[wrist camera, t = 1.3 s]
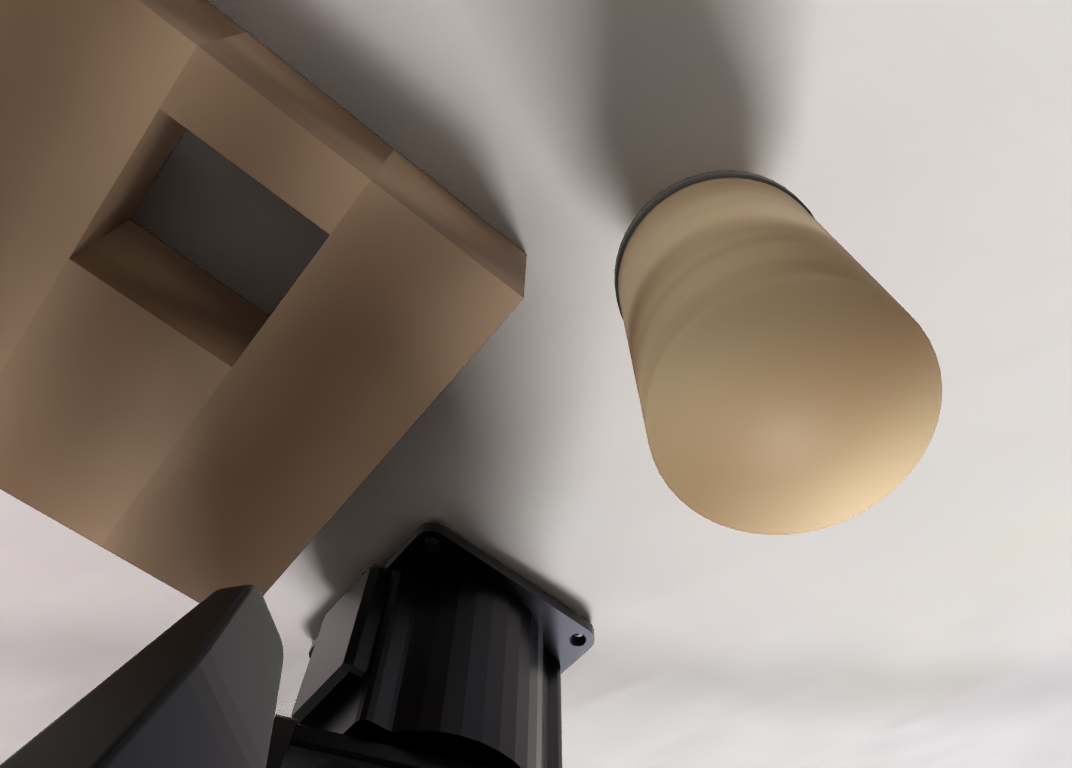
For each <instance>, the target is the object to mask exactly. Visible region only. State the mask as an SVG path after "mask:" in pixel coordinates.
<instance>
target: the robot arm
mask: <svg viewBox="0 0 1072 768" xmlns="http://www.w3.org/2000/svg"><path fill="white" fill-rule="evenodd" d="M427 538H434V539H437V540H438V541H439V542H438V543H437V544H431V543H428V542H427V541H426V539H427ZM574 634H582V635H583V636H581V637H574V636H572V635H574ZM593 644H594V629H593V626H592V624H591V623H590V622H589V621H587V620H586V619H584V618H583V617H581V616H580V615H578V614H577V613H575V612H574V611H572V610H571V609H569V608H568V607H566V606H564V605H563V604H561V603H560V602H558V601H557V600H555V599H554V598H552V597H551V596H549V595H548V594H546V593H545V592H543V591H542V590H540V589H539V588H537V587H536V586H534V585H533V584H531V583H530V582H528V581H527V580H525V579H523V578H522V577H520V576H519V575H517V574H516V573H514V572H513V571H511V570H510V569H508V568H507V567H505V566H504V565H502V564H501V563H499V562H498V561H496V560H495V559H493V558H492V557H490V556H489V555H487V554H486V553H484V552H482V551H481V550H479V549H478V548H476V547H475V546H473V545H472V544H470V543H469V542H467V541H466V540H464V539H463V538H461V537H460V536H458V535H457V534H455V533H454V532H452V531H451V530H449V529H448V528H446V527H445V526H443V525H440V524H438V523H431V522H430V523H426V524H423V525H422V526H421V527H419V528H418V529H417V530H416V531H415V532H414V534H413V535H412V536H411V537H410V538H409V539H408V540H407V541H406V542H405V543H404V544H403V545H402V546H401V547H400V548H399V550H398V551H397V552H396V553H395V554H394V555H393V556H392V557H391V558H390V559H389V560H388V561H387V562H386V563H385V564H384V566H382V565H380V564H378V565H375V566H371V567H369V568H368V569H367V570H366V571H365V572H364V574H363V575H362V576H361V577H360V578H359V579H358V580H357V581H356V582H355V583H354V584H353V585H352V586H351V587H350V589H349V590H348V591H347V592H346V593H345V594H344V595H343V596H342V597H341V598H340V599H339V600H338V601H337V603H336V604H335V605H334V606H333V607H332V608H331V609H330V610H329V611H328V612H327V613H326V615H325V617H324V619H323V622H322V625H321V628H320V631H319V634H318V636H317V637H316V638H315V639H314V641H313V643H312V646H311V649H310V651H309V658H310V661H309V664H308V667H307V670H306V673H305V676H304V679H303V682H302V685H301V688H300V691H299V694H298V697H297V699H296V702H295V705H294V708H293V711H292V714H291V716H292V718H290V717H285V716H281V715H277V714H276V715H275V709H276V703H277V696H278V690H279V684H280V677H281V671H282V665H283V646H282V641H281V638H280V636H279V633H278V631H277V628H276V626H275V624H274V621H273V619H272V617H271V614H270V612H269V610H268V607H267V605H266V603H265V600H264V598H263V596H262V594H261V592H260V590H259V589H258V588H257V587H255V586H253V585H251V584H248V585H241V586H234V587H227V588H221V589H218V590H216V591H215V592H213V593H212V594H211V595H210V596H208V597H207V598H206V599H205V600H203V601H202V602H201V603H200V604H198V605H197V606H196V607H195V608H193V609H192V610H191V611H190V612H189V613H187V614H186V615H185V616H184V617H182V618H181V619H180V620H179V621H177V622H176V623H175V624H174V625H172V626H171V627H170V628H169V629H168V630H166V631H165V632H164V633H163V634H161V635H160V636H159V637H158V638H156V639H155V640H154V641H153V642H151V643H150V644H149V645H148V646H147V647H145V648H144V649H143V650H142V651H140V652H139V653H138V654H137V655H135V656H134V657H133V658H132V659H131V660H129V661H128V662H127V663H126V664H124V665H123V666H122V667H121V668H119V669H118V670H117V671H116V672H114V673H113V674H112V675H111V676H110V677H108V678H107V679H106V680H105V681H103V682H102V683H101V684H100V685H98V686H97V687H96V688H95V689H93V690H92V691H91V692H90V693H89V694H87V695H86V696H85V697H84V698H82V699H81V700H80V701H79V702H77V703H76V704H75V705H74V706H72V707H71V708H70V709H69V710H68V711H66V712H65V713H64V714H63V715H61V716H60V717H59V718H58V719H56V720H55V721H54V722H53V723H52V724H50V725H49V726H48V727H47V728H45V729H44V730H43V731H42V732H40V733H39V734H38V735H37V736H35V737H34V738H33V739H32V740H31V741H29V742H28V743H27V744H26V745H24V746H23V747H22V748H21V749H19V750H18V751H17V752H16V753H14V754H13V755H12V756H11V757H10V758H8V759H7V760H6V761H5V762H3V763H2V764H1V765H0V768H562V722H561V673H563V672H564V671H565V670H566V669H567V668H568V667H569V666H570V665H572V664H573V663H574V662H575V661H576V660H577V659H578V658H580V657H581V656H582V655H583V654H584V653H585V652H586V651H588V650H589V649H590V648H591V647H592V645H593ZM274 715H275V718H274Z"/></svg>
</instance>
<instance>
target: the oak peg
mask: <svg viewBox="0 0 1072 768" xmlns="http://www.w3.org/2000/svg"><path fill="white" fill-rule="evenodd" d="M615 290H616V297H617V302H618V306H619V310H620V313H621V316H622V318H623V321H624V325H625V330H626V335H627V340H628V345H629V350H630V354H631V359H632V364H633V369H634V374H635V379H636V384H637V389H638V394H639V398H640V403H641V408H642V413H643V418H644V423H645V428H646V433H647V438H648V443H649V446H650V450H651V454H652V457H653V460H654V462H655V464H656V467H657V469H658V471H659V473H660V475H661V476H662V478H663V479H664V481H665V482H666V484H667V485H668V487H669V488H670V489H671V490H672V491H673V492H674V494H675V495H676V496H677V497H678V498H679V499H680V500H681V501H682V502H684V503H685V504H686V505H687V506H688V507H689V508H691V509H692V510H694V511H695V512H697V513H698V514H700V515H702V516H703V517H705V518H707V519H709V520H711V521H713V522H715V523H717V524H720V525H723V526H726V527H729V528H732V529H735V530H739V531H744V532H749V533H755V534H766V535H788V534H796V533H804V532H809V531H814V530H818V529H822V528H826V527H829V526H832V525H835V524H838V523H840V522H843V521H845V520H847V519H849V518H852V517H854V516H856V515H858V514H860V513H861V512H863V511H865V510H867V509H868V508H870V507H872V506H873V505H875V504H876V503H878V502H879V501H880V500H882V499H883V498H884V497H886V496H887V495H888V494H890V493H891V492H892V491H893V490H894V489H895V488H896V487H897V486H898V485H899V484H900V483H902V482H903V480H904V479H905V478H906V477H907V476H908V475H909V473H910V472H911V471H912V470H913V469H914V468H915V466H916V465H917V463H918V462H919V460H920V459H921V457H922V456H923V454H924V453H925V451H926V449H927V447H928V445H929V443H930V441H931V439H932V436H933V434H934V431H935V428H936V425H937V422H938V418H939V413H940V408H941V399H942V382H941V372H940V368H939V364H938V360H937V357H936V354H935V351H934V349H933V347H932V345H931V343H930V340H929V339H928V337H927V336H926V334H925V333H924V331H923V330H922V328H921V327H920V325H919V324H918V323H917V322H916V321H915V320H914V319H913V318H912V317H911V315H910V314H909V313H908V312H907V311H906V310H905V309H904V308H903V307H902V306H901V305H900V304H899V303H898V302H897V301H896V300H895V299H894V298H893V297H892V296H891V295H890V294H889V293H888V292H887V291H886V290H885V289H884V288H883V287H882V286H881V285H880V284H879V283H878V282H877V281H876V280H875V279H874V278H873V277H872V276H871V275H870V274H869V273H868V272H867V271H866V270H865V269H864V268H863V267H862V266H861V265H860V264H859V263H858V262H857V261H856V260H855V259H854V258H853V257H852V256H851V255H850V254H849V253H848V252H847V251H846V250H845V249H844V248H843V247H842V246H841V245H840V244H839V243H838V242H837V241H836V240H835V239H834V238H833V237H832V236H831V235H830V234H829V233H828V232H827V231H826V230H825V229H824V228H823V227H822V226H821V225H820V224H819V223H818V222H817V221H816V220H815V218H814V217H813V215H812V214H811V212H810V211H809V210H808V209H807V207H806V206H805V205H804V204H803V203H802V202H801V201H800V200H799V199H798V198H797V197H796V196H795V195H794V194H792V193H791V192H790V191H789V190H787V189H786V188H785V187H783V186H782V185H780V184H778V183H776V182H775V181H773V180H770V179H768V178H765V177H763V176H760V175H757V174H752V173H748V172H742V171H714V172H708V173H703V174H699V175H696V176H692V177H689V178H687V179H684V180H682V181H680V182H677V183H675V184H674V185H672V186H670V187H669V188H667V189H665V190H663V191H662V192H661V193H660V194H658V195H657V196H656V197H654V198H653V199H652V200H651V201H650V202H649V203H648V204H647V205H646V206H645V207H644V208H643V209H642V210H641V211H640V212H639V213H638V215H637V216H636V217H635V219H634V220H633V221H632V223H631V225H630V226H629V228H628V230H627V231H626V233H625V235H624V238H623V240H622V242H621V245H620V248H619V251H618V255H617V259H616V265H615Z"/></svg>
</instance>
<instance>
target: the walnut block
mask: <svg viewBox="0 0 1072 768" xmlns="http://www.w3.org/2000/svg"><path fill="white" fill-rule="evenodd" d="M186 129H188V130H189V131H190V132H192V133H193V134H194V135H196V136H197V137H198V138H200V139H201V140H202V141H204V142H205V143H207V144H208V145H209V146H211V147H212V148H213V149H215V150H216V151H217V152H219V153H220V154H221V155H223V156H224V157H225V158H227V159H228V160H229V161H231V162H232V163H234V164H235V165H236V166H238V167H239V168H240V169H242V170H243V171H244V172H246V173H247V174H248V175H250V176H251V177H252V178H254V179H255V180H256V181H258V182H259V183H261V184H262V185H263V186H265V187H266V188H267V189H269V190H270V191H271V192H273V193H274V194H275V195H277V196H278V197H279V198H281V199H282V200H283V201H285V202H286V203H288V204H289V205H290V206H292V207H293V208H294V209H296V210H297V211H298V212H300V213H301V214H302V215H304V216H305V217H306V218H308V219H309V220H310V221H312V222H313V223H314V224H316V225H317V226H319V227H320V228H321V229H323V230H324V231H325V232H327V233H328V234H329V237H328V238H327V239H326V241H325V242H324V244H323V245H322V246H321V248H320V249H319V250H318V252H317V253H316V254H315V256H314V257H313V258H312V260H311V261H310V262H309V264H308V265H307V267H306V268H305V269H304V271H303V272H302V273H301V275H300V276H299V277H298V279H297V280H296V281H295V283H294V284H293V286H292V287H291V288H290V290H289V291H288V292H287V294H286V295H285V296H284V298H283V299H282V300H281V302H280V303H279V304H278V306H277V307H276V309H275V310H274V311H273V313H272V314H271V315H270V316H268V315H267V314H265V313H264V312H262V311H261V310H260V309H258V308H257V307H255V306H254V305H252V304H251V303H249V302H248V301H247V300H245V299H244V298H242V297H241V296H239V295H238V294H236V293H235V292H234V291H232V290H231V289H229V288H228V287H226V286H225V285H224V284H222V283H221V282H219V281H218V280H216V279H215V278H213V277H212V276H211V275H209V274H208V273H206V272H205V271H203V270H202V269H200V268H199V267H198V266H196V265H195V264H193V263H192V262H190V261H189V260H187V259H186V258H185V257H183V256H182V255H180V254H179V253H177V252H176V251H175V250H173V249H172V248H170V247H169V246H167V245H166V244H164V243H163V242H162V241H160V240H159V239H157V238H156V237H154V236H153V235H151V234H150V233H149V232H147V231H146V230H144V229H143V228H141V227H140V226H138V225H137V224H136V223H134V222H133V221H131V220H130V218H131V217H132V215H133V213H134V212H135V210H136V209H137V207H138V205H139V204H140V202H141V201H142V199H143V197H144V196H145V194H146V193H147V191H148V189H149V188H150V186H151V185H152V183H153V181H154V180H155V178H156V176H157V175H158V173H159V172H160V170H161V168H162V167H163V165H164V164H165V162H166V160H167V159H168V157H169V156H170V154H171V152H172V151H173V149H174V148H175V146H176V144H177V143H178V141H179V140H180V138H181V136H182V135H183V133H184V132H185V130H186ZM526 256H527V254H526V253H524V252H523V251H522V250H521V249H519V248H518V247H517V246H515V245H514V244H513V243H512V242H510V241H509V240H508V239H507V238H505V237H504V236H503V235H502V234H500V233H499V232H498V231H497V230H495V229H494V228H493V227H492V226H490V225H489V224H488V223H487V222H485V221H484V220H483V219H481V218H480V217H479V216H478V215H476V214H475V213H474V212H473V211H471V210H470V209H469V208H468V207H466V206H465V205H464V204H463V203H461V202H460V201H459V200H458V199H456V198H455V197H454V196H452V195H451V194H450V193H449V192H447V191H446V190H445V189H444V188H442V187H441V186H440V185H439V184H437V183H436V182H435V181H434V180H432V179H431V178H430V177H429V176H427V175H426V174H425V173H423V172H422V171H421V170H420V169H418V168H417V167H416V166H415V165H413V164H412V163H411V162H410V161H408V160H407V159H406V158H405V157H403V156H402V155H401V154H400V153H398V152H397V151H396V150H394V149H393V148H392V147H391V146H389V145H388V144H387V143H386V142H384V141H383V140H382V139H381V138H379V137H378V136H377V135H376V134H374V133H373V132H372V131H371V130H369V129H368V128H367V127H365V126H364V125H363V124H362V123H360V122H359V121H358V120H357V119H355V118H354V117H353V116H352V115H350V114H349V113H348V112H347V111H345V110H344V109H343V108H342V107H340V106H339V105H338V104H336V103H335V102H334V101H333V100H331V99H330V98H329V97H328V96H326V95H325V94H324V93H323V92H321V91H320V90H319V89H318V88H316V87H315V86H314V85H313V84H311V83H310V82H309V81H308V80H306V79H305V78H304V77H302V76H301V75H300V74H299V73H297V72H296V71H295V70H294V69H292V68H291V67H290V66H289V65H287V64H286V63H285V62H284V61H282V60H281V59H280V58H279V57H277V56H276V55H275V54H273V53H272V52H271V51H270V50H268V49H267V48H266V47H265V46H263V45H262V44H261V43H260V42H258V41H257V40H256V39H255V38H253V37H252V36H251V35H250V34H248V33H247V32H246V31H244V30H243V29H242V28H241V27H239V26H238V25H237V24H236V23H234V22H233V21H232V20H231V19H229V18H228V17H227V16H226V15H224V14H223V13H222V12H221V11H219V10H218V9H217V8H215V7H214V6H213V5H212V4H210V3H209V2H208V1H207V0H0V489H1V490H3V491H5V492H6V493H8V494H10V495H12V496H13V497H15V498H17V499H19V500H20V501H22V502H24V503H26V504H27V505H29V506H31V507H33V508H34V509H36V510H38V511H40V512H41V513H43V514H45V515H47V516H48V517H50V518H52V519H54V520H55V521H57V522H59V523H61V524H62V525H64V526H66V527H68V528H69V529H71V530H73V531H75V532H76V533H78V534H80V535H82V536H83V537H85V538H87V539H89V540H90V541H92V542H94V543H96V544H97V545H99V546H101V547H103V548H104V549H106V550H108V551H110V552H111V553H113V554H115V555H117V556H118V557H120V558H122V559H124V560H125V561H127V562H129V563H131V564H132V565H134V566H136V567H138V568H139V569H141V570H143V571H145V572H146V573H148V574H150V575H152V576H153V577H155V578H157V579H159V580H160V581H162V582H164V583H166V584H167V585H169V586H171V587H173V588H174V589H176V590H178V591H180V592H181V593H183V594H185V595H187V596H188V597H190V598H192V599H194V600H195V601H197V602H199V603H201V602H202V601H203V600H205V599H206V598H207V597H208V596H210V595H211V594H212V593H213V592H215V591H216V590H218V589H221V588H227V587H234V586H241V585H248V584H251V585H253V586H255V587H257V588H258V589H259V590H260V592H261V594H262V596H263V595H264V594H265V593H266V592H267V591H268V590H269V588H270V587H271V586H272V585H273V584H274V583H275V582H276V580H277V579H278V578H279V577H280V576H281V575H282V574H283V572H284V571H285V570H286V569H287V568H288V567H289V566H290V564H291V563H292V562H293V561H294V560H295V559H296V558H297V556H298V555H299V554H300V553H301V552H302V551H303V550H304V548H305V547H306V546H307V545H308V544H309V543H310V542H311V540H312V539H313V538H314V537H315V536H316V535H317V534H318V532H319V531H320V530H321V529H322V528H323V527H324V525H325V524H326V523H327V522H328V521H329V520H330V519H331V517H332V516H333V515H334V514H335V513H336V512H337V511H338V509H339V508H340V507H341V506H342V505H343V504H344V503H345V501H346V500H347V499H348V498H349V497H350V496H351V495H352V493H353V492H354V491H355V490H356V489H357V488H358V487H359V485H360V484H361V483H362V482H363V481H364V480H365V479H366V477H367V476H368V475H369V474H370V473H371V472H372V471H373V469H374V468H375V467H376V466H377V465H378V464H379V463H380V461H381V460H382V459H383V458H384V457H385V456H386V455H387V453H388V452H389V451H390V450H391V449H392V448H393V447H394V445H395V444H396V443H397V442H398V441H399V440H400V439H401V437H402V436H403V435H404V434H405V433H406V432H407V431H408V429H409V428H410V427H411V426H412V425H413V424H414V423H415V421H416V420H417V419H418V418H419V417H420V416H421V415H422V413H423V412H424V411H425V410H426V409H427V408H428V407H429V405H430V404H431V403H432V402H433V401H434V400H435V399H436V397H437V396H438V395H439V394H440V393H441V392H442V391H443V389H444V388H445V387H446V386H447V385H448V384H449V383H450V381H451V380H452V379H453V378H454V377H455V376H456V375H457V373H458V372H459V371H460V370H461V369H462V368H463V367H464V365H465V364H466V363H467V362H468V361H469V360H470V359H471V357H472V356H473V355H474V354H475V353H476V352H477V351H478V349H479V348H480V347H481V346H482V345H483V344H484V343H485V341H486V340H487V339H488V338H489V337H490V336H491V335H492V333H493V332H494V331H495V330H496V329H497V328H498V327H499V325H500V324H501V323H502V322H503V321H504V320H505V319H506V317H507V316H508V315H509V314H510V313H511V312H512V311H513V309H514V308H515V307H516V306H517V305H518V304H519V303H520V301H521V300H522V299H523V298H524V284H525V270H526Z"/></svg>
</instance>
